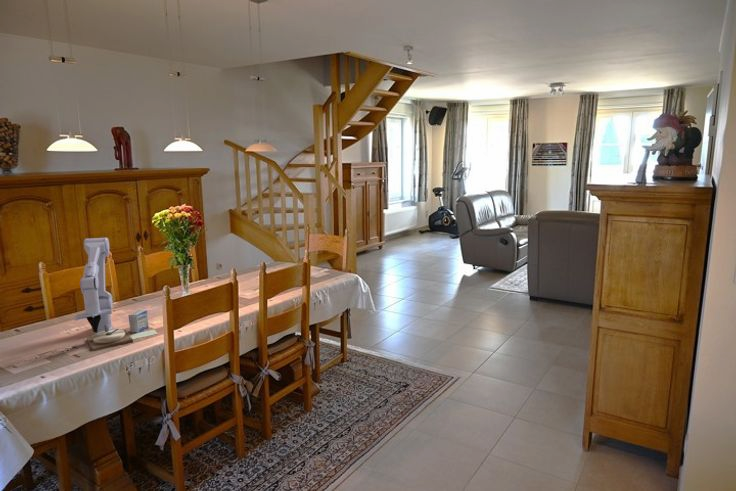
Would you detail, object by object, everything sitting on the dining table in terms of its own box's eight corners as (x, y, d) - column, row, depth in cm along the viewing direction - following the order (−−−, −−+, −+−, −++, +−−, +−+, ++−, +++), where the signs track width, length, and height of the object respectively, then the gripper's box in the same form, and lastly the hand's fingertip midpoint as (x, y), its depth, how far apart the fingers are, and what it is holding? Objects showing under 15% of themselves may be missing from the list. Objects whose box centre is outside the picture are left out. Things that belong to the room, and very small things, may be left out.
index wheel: (128, 338, 220) (127, 328, 219) (95, 345, 212) (94, 335, 211) (122, 330, 230) (121, 321, 229) (90, 336, 222) (89, 327, 221)
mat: (128, 335, 228) (128, 334, 228) (153, 329, 235) (153, 329, 235) (132, 339, 223) (132, 339, 223) (157, 333, 229) (157, 333, 229)
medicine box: (138, 333, 230) (136, 315, 229) (129, 332, 231) (128, 314, 230) (148, 327, 238) (147, 310, 236) (140, 326, 239) (139, 309, 237)
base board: (86, 339, 223) (86, 337, 222) (125, 331, 232) (124, 329, 232) (92, 350, 210) (92, 348, 210) (133, 341, 220) (132, 339, 219)
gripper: (74, 308, 211) (78, 338, 214) (111, 302, 220) (114, 331, 222) (72, 304, 217) (75, 333, 219) (108, 298, 225) (111, 326, 228)
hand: (95, 332), depth 221 cm, fingers closed
